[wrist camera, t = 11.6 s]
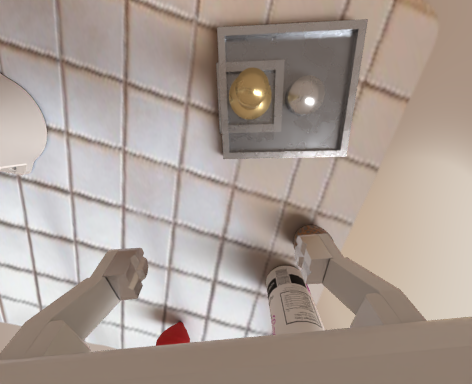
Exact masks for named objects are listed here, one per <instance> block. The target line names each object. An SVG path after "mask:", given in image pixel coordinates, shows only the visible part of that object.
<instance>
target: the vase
mask: <svg viewBox="0 0 472 384" xmlns="http://www.w3.org/2000/svg"><path fill="white" fill-rule="evenodd" d="M324 233H327V232H326V231H325V230H324V229H322V228H321V227H318V226H315V225H307V226H304V227H302V228H300V229H299V230H298V231H297V232H296V234H295V236H294V241H293V244H294V249H295V247H296V246H297V245H298V244H297V242H296V240H297V237H298V236H301V235H313V234H324ZM327 234H328V233H327ZM328 235H329V234H328ZM329 236H330V235H329ZM330 238H331V239H332V237H331V236H330ZM332 241H333V239H332ZM333 242H334V241H333Z"/></svg>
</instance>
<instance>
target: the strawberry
mask: <svg viewBox="0 0 472 384" xmlns="http://www.w3.org/2000/svg"><path fill="white" fill-rule="evenodd" d="M181 343H190V338H189V336H188V333H187V330H186V329H185V327H184V324H183V323H182V322H178V323H177V324H175V325H173V326H171V327H170V328H168V329H167V330H165V331H164V332H163V333H162V334H161V336H160V337H159V338H158V340H157V342H156V346H159V345H170V344H181Z"/></svg>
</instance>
